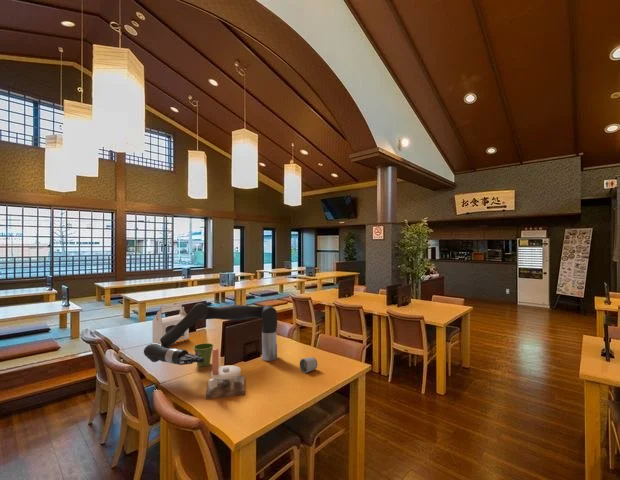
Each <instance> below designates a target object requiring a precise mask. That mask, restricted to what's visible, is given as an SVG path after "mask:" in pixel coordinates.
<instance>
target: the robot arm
mask: <svg viewBox="0 0 620 480" xmlns="http://www.w3.org/2000/svg"><path fill="white" fill-rule="evenodd" d="M186 314H187V315H186V316H185V317H184V318H183V319H182V320H181V321H180V322H179V323H178V324H177V325H173V327H172V328H171V329H169V330H168V331H166V334H165V335H164V336H163V337H162V338H161V339H160V342H161V346H160V345H158V344H152V343H151V344H150V343H149V344H148V345H146V346H145V347H144V349H143V354H144V356H145V357H146V358H147V359H148V360H150V362H152V363H157V362H159V361H161V362H163V363H168V364H171V365H172V364H173V365H177V366H183V365H186V366H187V365H192V364H194V363H196V364H197V362H198V363H202V362H204V358H203V357H200V354H199V353H198V352H196V353H195V352H194V353H192V352H189V351H188V350H187V349H183V348H175V347H174V348H171V346H172V345H174V344H173V343H175V342H176V341H177V340H178V339H179V338H180V337H181V336H182V335H183V334H184V333H185V332H186V330H187V329H188V328H189V329H190V327H192V326H193V325H194V324H195V323H197V322H198V321H203V320H225V321H243V320H244V321H245V320H248V319H262V327H261V354H262V355H261V358H262V360H263V361H265V362H266V361H267V362H273V361H276V360H278V341H277V328H278V312H277V310H276V308H275V307H274V306H272V305H256V306H254V305H243V304H230V305H229V304H226V305H221V306H209V305H207V304H205V303H203V302H198V303H196V304H194V306H192V308H191V309H190V310H189V312H188V313H186ZM175 344H176V343H175Z"/></svg>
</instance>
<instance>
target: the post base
mask: <svg viewBox="0 0 620 480" xmlns="http://www.w3.org/2000/svg"><path fill="white" fill-rule="evenodd" d="M210 379H212V377H211V378H209V379H208V383H207V387H206V390H205V391H206V392H205V396H204V399H205V400H207V399H206V398H209V399H217V397H218V398H227V397H233V396H244V395H245V375H244V374H243V375H241V374H240V375H238V376H237V377H235V378H234V377H232V378H230V379H227V380H217V387H215V388H213V389H209V380H210Z"/></svg>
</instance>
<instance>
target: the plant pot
mask: <svg viewBox="0 0 620 480" xmlns="http://www.w3.org/2000/svg"><path fill="white" fill-rule="evenodd" d="M214 346H215V345H214V344H213V343H211V342H210V343H208V342H205V343H198V344H195V345H194V346H193V347H192V348H193V350H194V354H195V353H196V352H198V353H199V354H200V357H203V358H204V362H202V363H198V362H196V366H197V367H200V366H201V367H207V366H209V365H210V364H211V363H210V362H211V359H212V349H214ZM208 364H209V365H208ZM206 365H207V366H206Z"/></svg>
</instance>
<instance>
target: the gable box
mask: <svg viewBox="0 0 620 480" xmlns="http://www.w3.org/2000/svg"><path fill="white" fill-rule="evenodd" d="M159 309H160V310H158V311H156V315H155V316H154V317H153V319H152V322H151V323H152V326H151V327H152V331H151V334H152V337H151V338H152V342H154V343H158V344H161V342H160V339H161V338H162V337H163V336H164V335H165V334H166V333H167V331H166V329H167V327H169V326H175V325H177V324H178V323H179V322H180V321H181V320H182V319H183V318H184V317H185V316H186V315H187V314H188V313H187V312H186V310H185V306H183V305H182V304H181V303H175V304H170V305H163V306H160V308H159ZM173 311H179V314H175V315H170V316H169V315H168V316H165V317H162V314H164V313H168V312H173ZM189 331H190V327H189V328H188V329H187V330H186V332H185V333H184V334H183V335H182V336H184V337H181V338H179V339H178V340H177V341H179V340H183V339H187V338H190V332H189Z"/></svg>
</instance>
